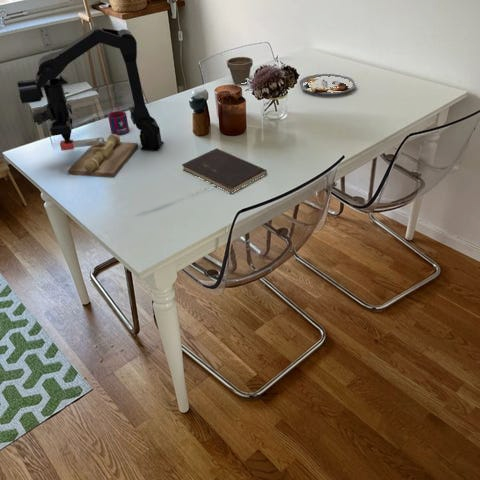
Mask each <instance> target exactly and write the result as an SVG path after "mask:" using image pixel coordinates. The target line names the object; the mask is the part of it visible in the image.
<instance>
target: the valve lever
mask: <svg viewBox="0 0 480 480" xmlns="http://www.w3.org/2000/svg"><path fill="white" fill-rule="evenodd" d="M105 141H106V140H105V138H104V137H103V136H101V137H95V138H88V139H87V138H85V139H78V140H74V139H70V140H61V141H60V143H59V146H60V149H61V151H69V150H75V148H84V147H91V146H94V145H103V144H105Z"/></svg>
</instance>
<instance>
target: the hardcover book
mask: <svg viewBox="0 0 480 480" xmlns="http://www.w3.org/2000/svg"><path fill="white" fill-rule="evenodd" d="M181 166H182V167H183V169H182V171H184V172H185V173H188V174H189V173H190V175H191V174H192V175H191V176H193V175H194V177H195V176H197V177H200V178H202V179H204V180H205V181H208V182H210V183H211V184H214V185H216V186H218V187H220V188H222V189H224V190H226V191H228V192H230V193H232V192H234V191H235V190H237V189H239V188H241V187H242V186H244V185H246V184H248V183H250V182H252V181H253V180H255V179H257V178H259V177H261V176H263V175H265V174H266V175H267V174H268V173H267V169H265V168H263V167H261V166H258V165H256V164H254V163H252V162H250V161H247V160H245V159H242V158H240V157H237V156H236V155H233V154H231V153H228V152H227V151H224V150H221V149H220V148H217V147H216V148H214V149H212V150H210V151H208V152H205V153H204V154H200V155H199V156H197V157H195V158H193V159H190V160H188V161H187V162H184V163H182V164H181ZM266 175H265V176H266ZM197 177H196V178H197ZM263 177H264V176H263ZM261 178H262V177H261ZM259 179H260V178H259ZM205 181H204V182H205ZM252 183H253V182H252ZM211 184H210V185H211ZM250 184H251V183H250ZM241 189H242V188H241ZM239 190H240V189H239ZM234 193H235V192H234ZM232 194H233V193H232Z"/></svg>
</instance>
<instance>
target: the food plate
mask: <svg viewBox="0 0 480 480" xmlns="http://www.w3.org/2000/svg"><path fill="white" fill-rule="evenodd" d="M321 76H328V77H330V76H335V77H341V78H344V79H348V80H349V82H350V81H351V82H352V83H353V84H352V85H353V86H352V87H351V88H348V86H346V84H344V83H340V82H338V84H337V85H338V87H339V88H337V86H334V87H336V88H333V87H332V88H331V87H330V89H325V87H323V89H322V88H319V87H315V88H313V87H309V85H308V83H311V82H310V81H312V82H314V81H316V80H318V79H314V78H316V77H321ZM305 82H308V83H307V84H306V85H304V86H303V83H305ZM333 83H334V84H335V81H334V82H333ZM333 83H332V84H333ZM299 85H300V89H301V90H302V91H304V92H308V93H310V94H315V95H316V94H317V95H338V94H339V95H340V94H343V93H349V92H351V91H353V90H354V89H356V88H357V87H356V86H357V85H356V83H355V81H354V79H353V78H352V77H349V76H345V75H341V74H336V73H321V74H319V73H318V74H313V75H308V76H305V77H302V78H301V79H300V80H299ZM310 85H311V84H310ZM317 85H318V84H317ZM321 85H322V84H321ZM311 86H312V85H311ZM308 88H311V90H312V91H310V90H307V89H308ZM328 90H332V91H341V92H333V93H331V92H327V91H328Z"/></svg>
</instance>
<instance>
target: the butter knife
mask: <svg viewBox="0 0 480 480" xmlns="http://www.w3.org/2000/svg"><path fill="white" fill-rule="evenodd" d="M205 189H206V191H207V188H205ZM206 191H205V190H204V189H202V190H199V191H196V192H195V193H192V194H190V195H188V196H185V197H183V198H182V199H183V200H184V199H188V198H191V197H194V196H198V195H201V194H203V193H202V192H204V193H207V192H208V191H207V192H206Z"/></svg>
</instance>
